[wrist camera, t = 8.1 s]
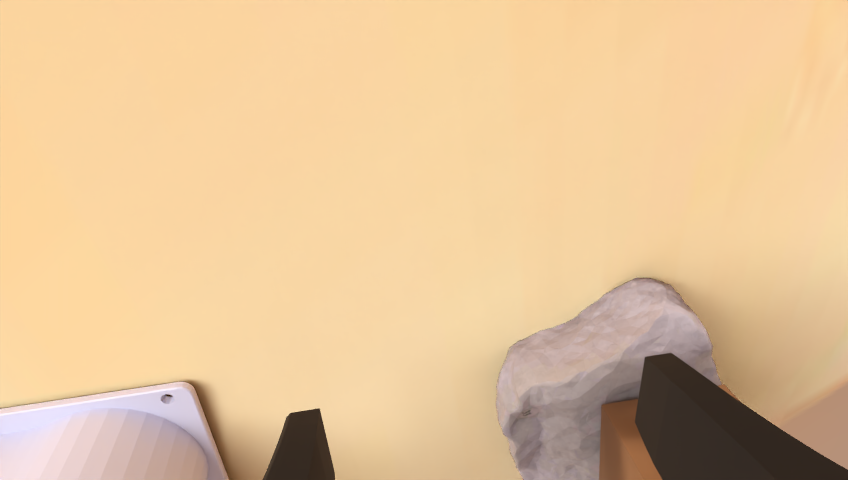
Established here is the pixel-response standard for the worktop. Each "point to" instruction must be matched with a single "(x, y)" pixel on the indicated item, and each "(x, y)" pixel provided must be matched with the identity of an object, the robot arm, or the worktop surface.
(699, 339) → the stone block
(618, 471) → the walnut cube
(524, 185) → the worktop surface
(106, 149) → the worktop surface
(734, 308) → the worktop surface
